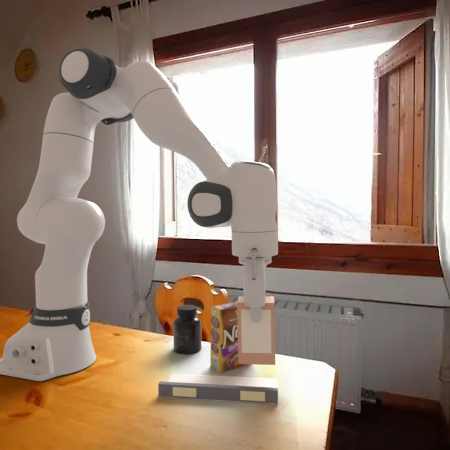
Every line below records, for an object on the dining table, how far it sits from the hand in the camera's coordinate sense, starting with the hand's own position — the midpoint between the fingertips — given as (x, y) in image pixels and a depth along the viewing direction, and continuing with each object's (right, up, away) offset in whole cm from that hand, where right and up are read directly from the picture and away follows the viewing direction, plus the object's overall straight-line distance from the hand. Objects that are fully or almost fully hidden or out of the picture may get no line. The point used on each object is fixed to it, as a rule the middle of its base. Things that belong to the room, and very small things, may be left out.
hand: (256, 315), depth 71 cm
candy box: (-5, -15, +10) cm, 19 cm away
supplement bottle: (-15, -15, +20) cm, 29 cm away
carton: (0, -9, +1) cm, 9 cm away
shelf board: (-7, -15, 0) cm, 17 cm away
